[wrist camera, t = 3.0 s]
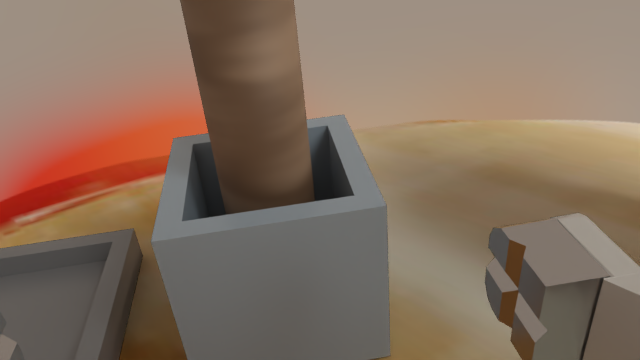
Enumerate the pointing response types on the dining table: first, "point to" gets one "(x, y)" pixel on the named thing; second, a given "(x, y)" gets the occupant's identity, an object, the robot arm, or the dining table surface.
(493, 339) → the dining table surface
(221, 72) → the walnut dowel
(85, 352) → the tray
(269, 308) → the grey open-top box
